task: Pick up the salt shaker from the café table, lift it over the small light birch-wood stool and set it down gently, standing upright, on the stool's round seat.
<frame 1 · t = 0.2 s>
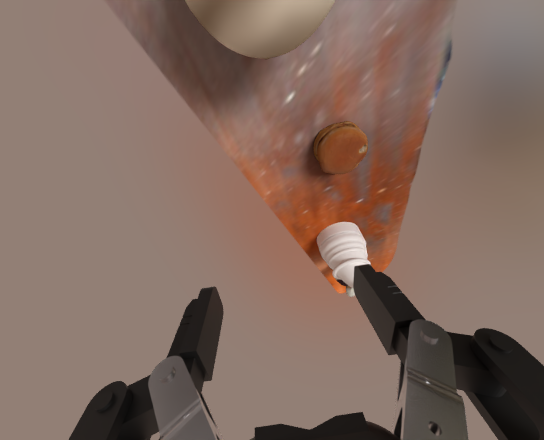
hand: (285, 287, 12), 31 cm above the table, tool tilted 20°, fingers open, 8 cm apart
honey pot: (337, 235, 61), on the table
burger: (336, 143, 40), on the table
grandmother figurine: (339, 260, 72), on the table
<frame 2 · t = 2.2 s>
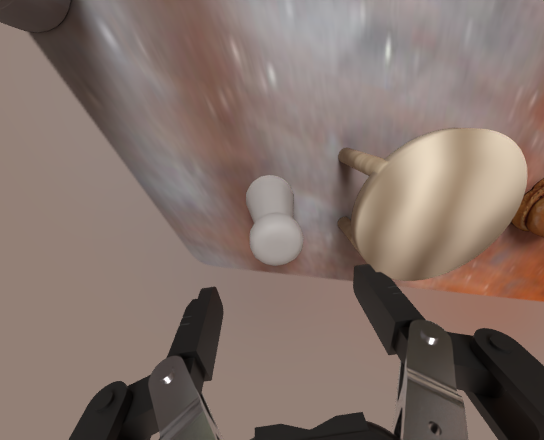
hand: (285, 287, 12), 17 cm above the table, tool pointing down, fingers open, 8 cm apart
stool: (379, 186, 27), on the table
salt shaker: (268, 192, 27), on the table
burger: (540, 200, 31), on the table
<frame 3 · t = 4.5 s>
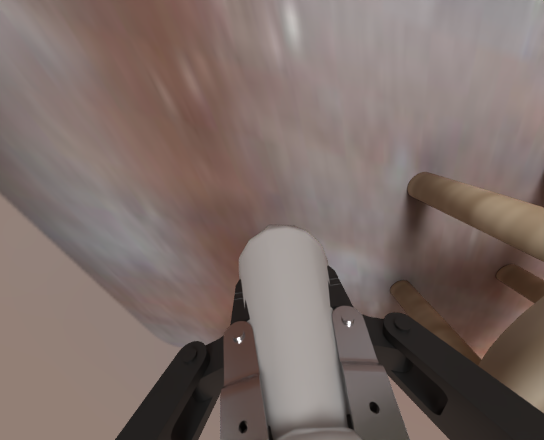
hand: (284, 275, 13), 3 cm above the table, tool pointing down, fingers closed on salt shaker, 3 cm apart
stool: (469, 234, 16), on the table
salt shaker: (279, 245, 16), on the table, touching gripper
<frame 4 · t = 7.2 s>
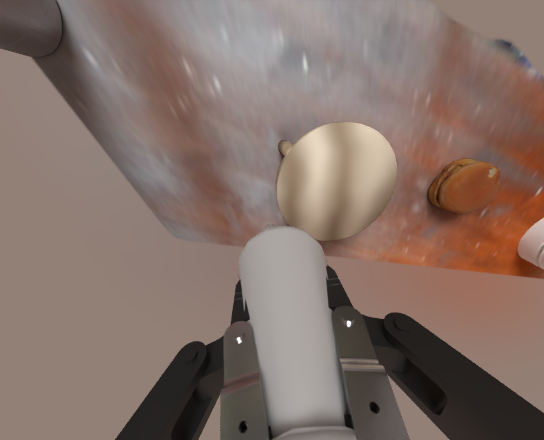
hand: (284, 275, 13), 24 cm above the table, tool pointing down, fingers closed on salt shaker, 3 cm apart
stool: (315, 170, 34), on the table
salt shaker: (278, 245, 16), point 20 cm above the table, touching gripper
burger: (452, 183, 37), on the table
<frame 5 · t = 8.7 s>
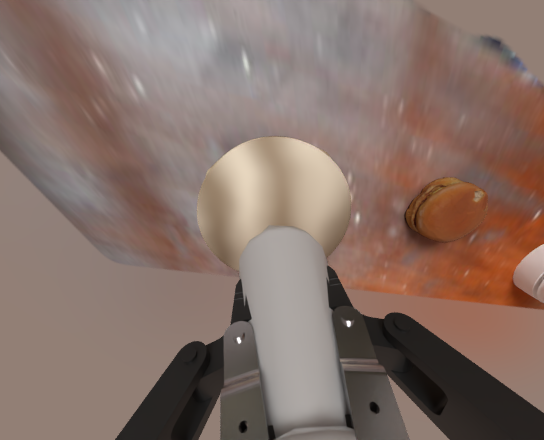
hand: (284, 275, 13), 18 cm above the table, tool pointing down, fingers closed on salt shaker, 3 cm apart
stool: (270, 188, 29), on the table
salt shaker: (279, 246, 16), point 15 cm above the table, touching gripper
burger: (434, 204, 32), on the table
when the fingers open (14 cm above the table, at t = 10.0 s): salt shaker drops 1 cm, resting on stool.
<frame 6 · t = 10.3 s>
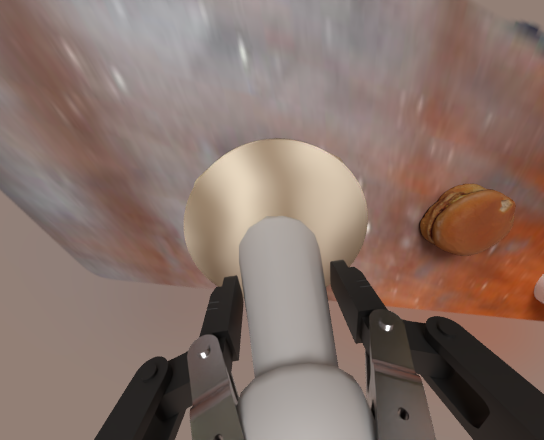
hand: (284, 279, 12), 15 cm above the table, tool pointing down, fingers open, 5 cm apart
stool: (270, 196, 26), on the table
salt shaker: (276, 236, 17), point 10 cm above the table, touching stool
burger: (451, 213, 29), on the table
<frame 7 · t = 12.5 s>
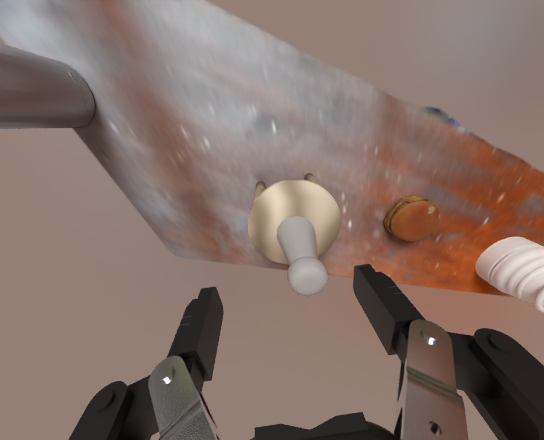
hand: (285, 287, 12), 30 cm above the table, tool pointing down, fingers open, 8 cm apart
stool: (287, 204, 41), on the table
salt shaker: (293, 226, 33), point 10 cm above the table, touching stool
honey pot: (501, 258, 50), on the table
burger: (405, 214, 44), on the table
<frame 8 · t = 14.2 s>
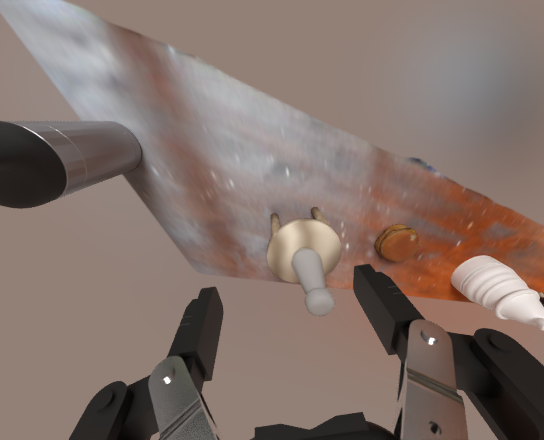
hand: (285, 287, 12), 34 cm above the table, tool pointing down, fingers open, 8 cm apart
stool: (296, 231, 49), on the table
salt shaker: (303, 254, 41), point 10 cm above the table, touching stool
honey pot: (472, 272, 60), on the table
burger: (392, 238, 53), on the table
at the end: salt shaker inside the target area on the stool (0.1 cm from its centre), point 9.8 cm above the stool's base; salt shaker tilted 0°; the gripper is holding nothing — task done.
